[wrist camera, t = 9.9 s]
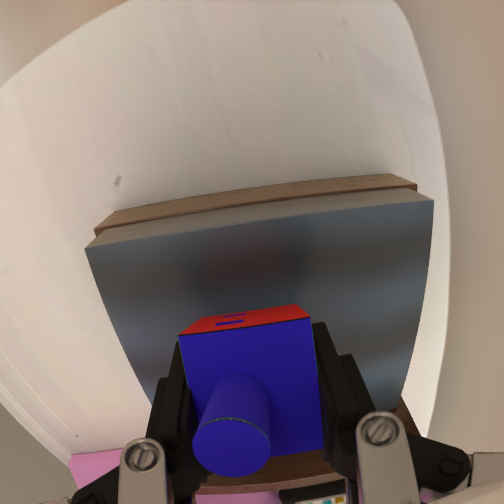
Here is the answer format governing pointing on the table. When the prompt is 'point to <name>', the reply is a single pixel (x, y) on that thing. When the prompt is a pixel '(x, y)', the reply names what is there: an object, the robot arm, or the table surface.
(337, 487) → the phone
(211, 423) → the toy building block
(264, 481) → the doll bed
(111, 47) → the table surface
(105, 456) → the pink table lamp
